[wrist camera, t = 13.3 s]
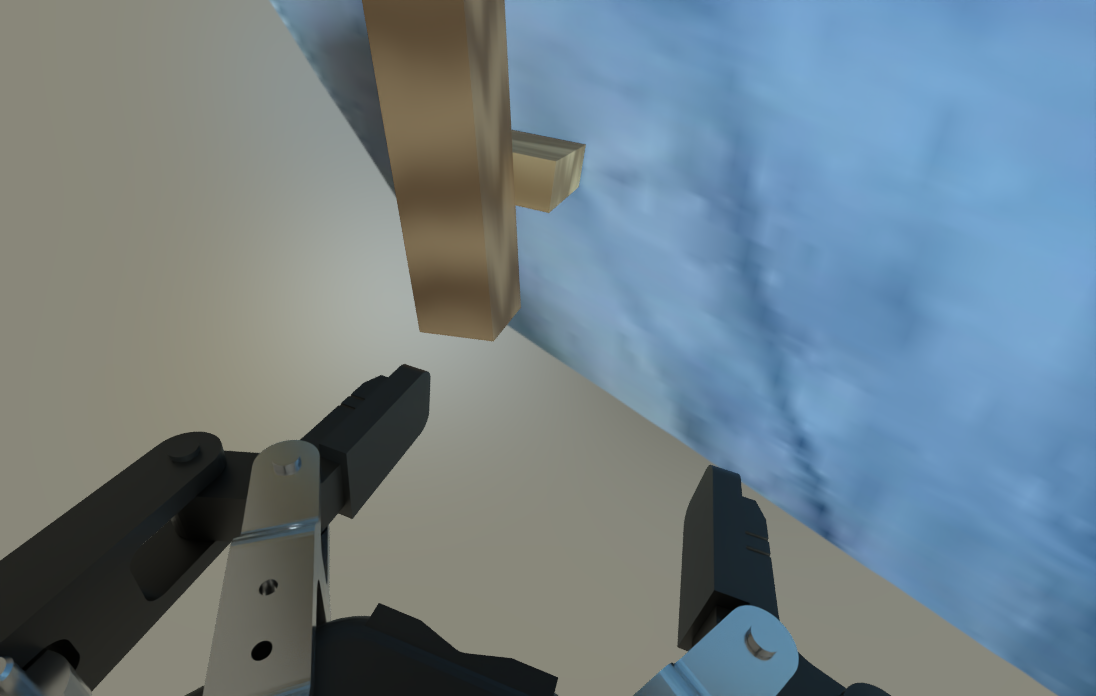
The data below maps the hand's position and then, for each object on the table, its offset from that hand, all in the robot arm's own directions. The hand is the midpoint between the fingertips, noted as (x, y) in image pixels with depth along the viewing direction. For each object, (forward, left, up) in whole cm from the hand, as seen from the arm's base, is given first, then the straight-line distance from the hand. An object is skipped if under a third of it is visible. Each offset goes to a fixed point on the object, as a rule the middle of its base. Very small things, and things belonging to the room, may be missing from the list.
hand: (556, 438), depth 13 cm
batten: (-2, -11, -18) cm, 21 cm away
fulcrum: (-2, -11, -26) cm, 28 cm away
